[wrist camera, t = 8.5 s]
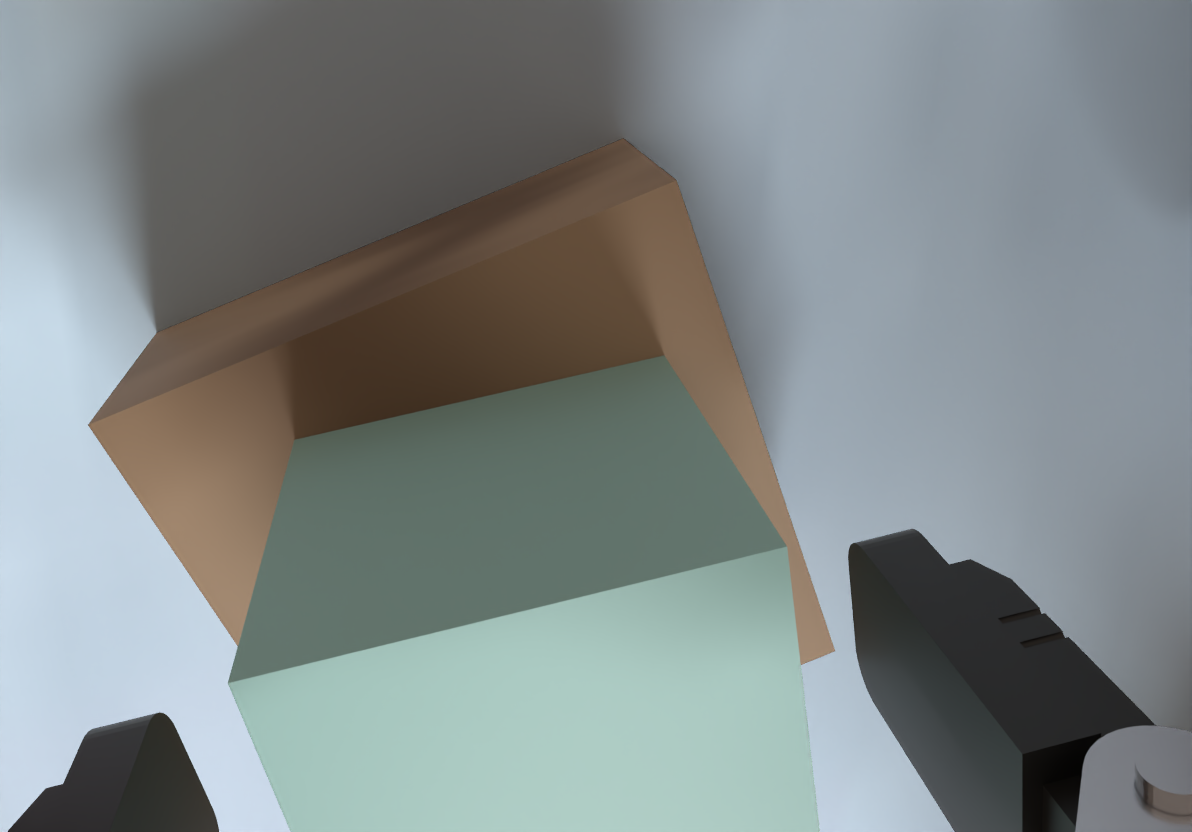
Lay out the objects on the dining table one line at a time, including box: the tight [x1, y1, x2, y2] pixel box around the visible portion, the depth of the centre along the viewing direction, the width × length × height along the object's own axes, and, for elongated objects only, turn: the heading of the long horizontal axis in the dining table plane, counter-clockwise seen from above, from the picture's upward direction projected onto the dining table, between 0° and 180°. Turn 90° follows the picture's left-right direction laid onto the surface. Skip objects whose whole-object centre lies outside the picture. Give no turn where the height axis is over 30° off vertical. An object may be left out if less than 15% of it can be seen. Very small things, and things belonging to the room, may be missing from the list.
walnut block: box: [88, 139, 835, 665], centre depth 16 cm, size 8×8×4 cm
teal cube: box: [228, 356, 820, 832], centre depth 12 cm, size 5×5×5 cm
